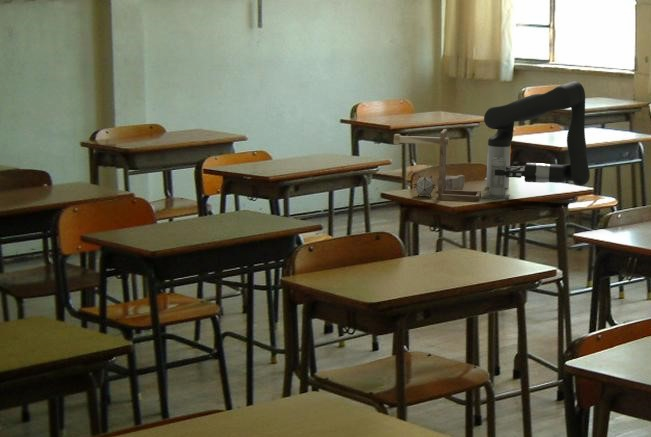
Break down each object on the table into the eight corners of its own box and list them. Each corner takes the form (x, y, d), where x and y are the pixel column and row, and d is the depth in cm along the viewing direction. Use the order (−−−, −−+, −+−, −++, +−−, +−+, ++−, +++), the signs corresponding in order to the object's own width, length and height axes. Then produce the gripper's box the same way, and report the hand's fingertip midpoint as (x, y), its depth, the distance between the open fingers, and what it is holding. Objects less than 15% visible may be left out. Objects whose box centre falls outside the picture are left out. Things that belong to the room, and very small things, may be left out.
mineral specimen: (456, 188, 501) (456, 173, 500) (466, 190, 495) (467, 175, 494) (430, 190, 495) (431, 174, 494) (440, 192, 489) (441, 177, 488)
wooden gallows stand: (441, 194, 483) (443, 128, 479) (480, 196, 481) (483, 130, 476) (438, 199, 471) (440, 132, 466) (478, 201, 468) (481, 134, 463)
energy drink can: (505, 195, 481) (507, 157, 478) (502, 197, 475) (504, 159, 472) (490, 194, 483) (492, 156, 480) (487, 196, 477) (489, 158, 474)
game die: (427, 205, 481) (441, 184, 482) (427, 200, 472) (441, 179, 473) (408, 192, 482) (422, 172, 483) (407, 188, 474) (422, 167, 475)
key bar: (395, 143, 479) (395, 133, 478) (448, 145, 475) (449, 136, 475) (393, 144, 475) (393, 135, 474) (447, 146, 471) (448, 137, 470)
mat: (484, 194, 485) (484, 193, 485) (509, 195, 483) (509, 194, 483) (482, 198, 475) (482, 197, 475) (508, 199, 473) (508, 198, 473)
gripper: (538, 160, 480) (496, 159, 483) (537, 165, 467) (494, 163, 470) (537, 179, 482) (496, 177, 485) (536, 185, 468) (493, 183, 471)
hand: (495, 170), depth 477 cm, fingers open, 8 cm apart
